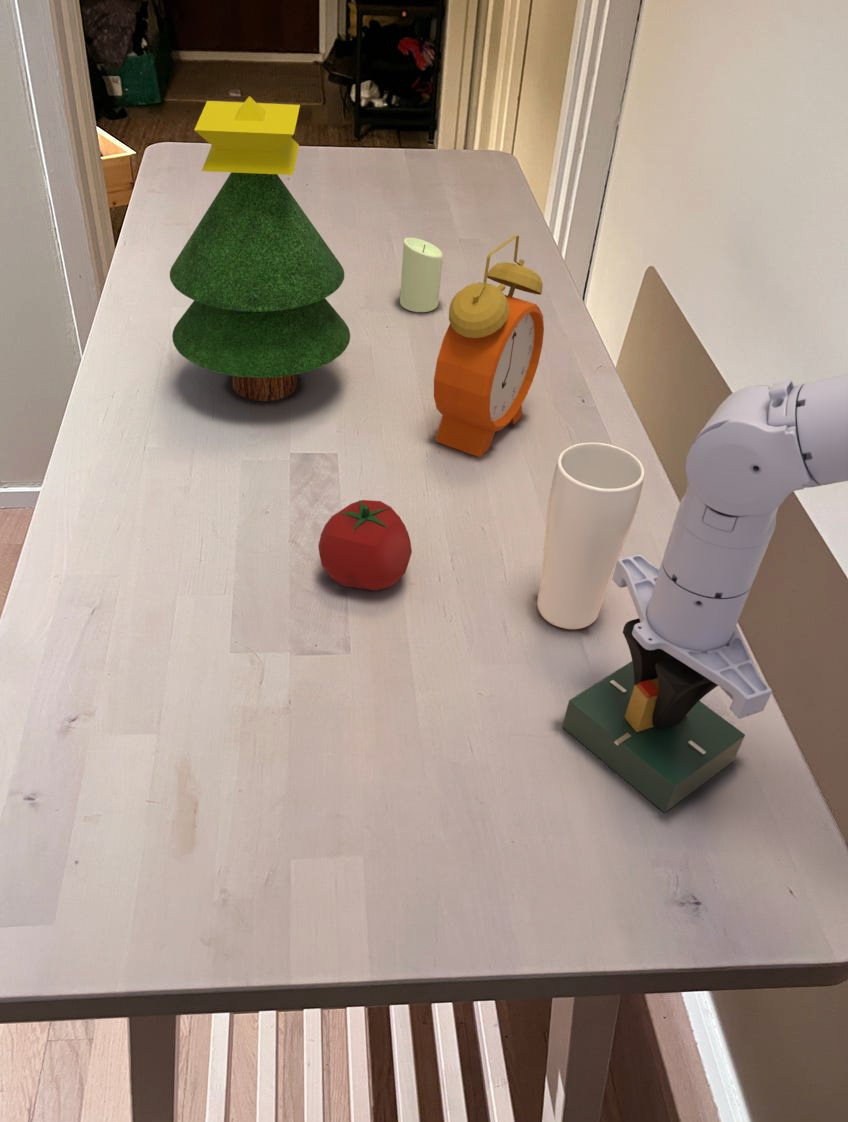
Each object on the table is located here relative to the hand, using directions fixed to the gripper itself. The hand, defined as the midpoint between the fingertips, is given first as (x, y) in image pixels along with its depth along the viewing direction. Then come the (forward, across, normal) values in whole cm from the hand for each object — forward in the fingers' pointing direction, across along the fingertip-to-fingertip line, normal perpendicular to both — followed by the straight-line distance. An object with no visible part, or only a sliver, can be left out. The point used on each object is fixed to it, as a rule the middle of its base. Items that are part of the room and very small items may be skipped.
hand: (657, 712), depth 73 cm
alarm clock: (+4, -44, +9) cm, 45 cm away
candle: (+4, -74, +15) cm, 75 cm away
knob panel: (+3, 0, 0) cm, 3 cm away
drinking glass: (+4, -15, +2) cm, 16 cm away
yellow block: (0, 0, 0) cm, 0 cm away
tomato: (+4, -26, -12) cm, 29 cm away
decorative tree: (+4, -60, -10) cm, 61 cm away
